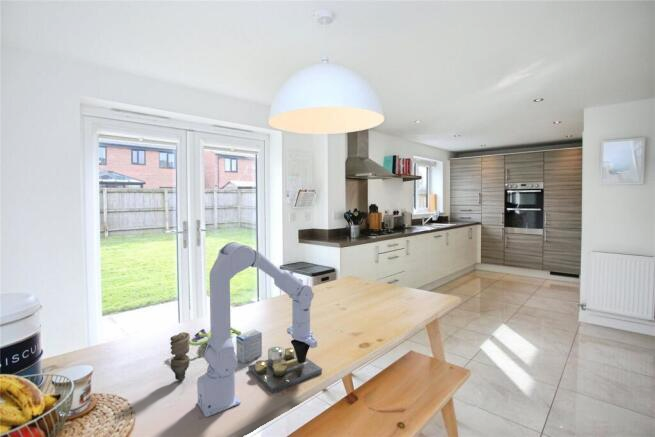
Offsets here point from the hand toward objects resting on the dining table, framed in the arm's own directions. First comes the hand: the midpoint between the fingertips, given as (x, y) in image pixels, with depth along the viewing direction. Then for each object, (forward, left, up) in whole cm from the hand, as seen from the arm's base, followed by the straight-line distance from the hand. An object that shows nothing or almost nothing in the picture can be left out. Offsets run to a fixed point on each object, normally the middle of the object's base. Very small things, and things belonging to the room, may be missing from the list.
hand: (301, 361), depth 105 cm
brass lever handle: (-4, +2, -2) cm, 4 cm away
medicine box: (-9, +20, -4) cm, 22 cm away
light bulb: (-32, +19, -4) cm, 37 cm away
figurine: (-17, +37, -4) cm, 41 cm away
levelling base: (-4, +4, -4) cm, 6 cm away
